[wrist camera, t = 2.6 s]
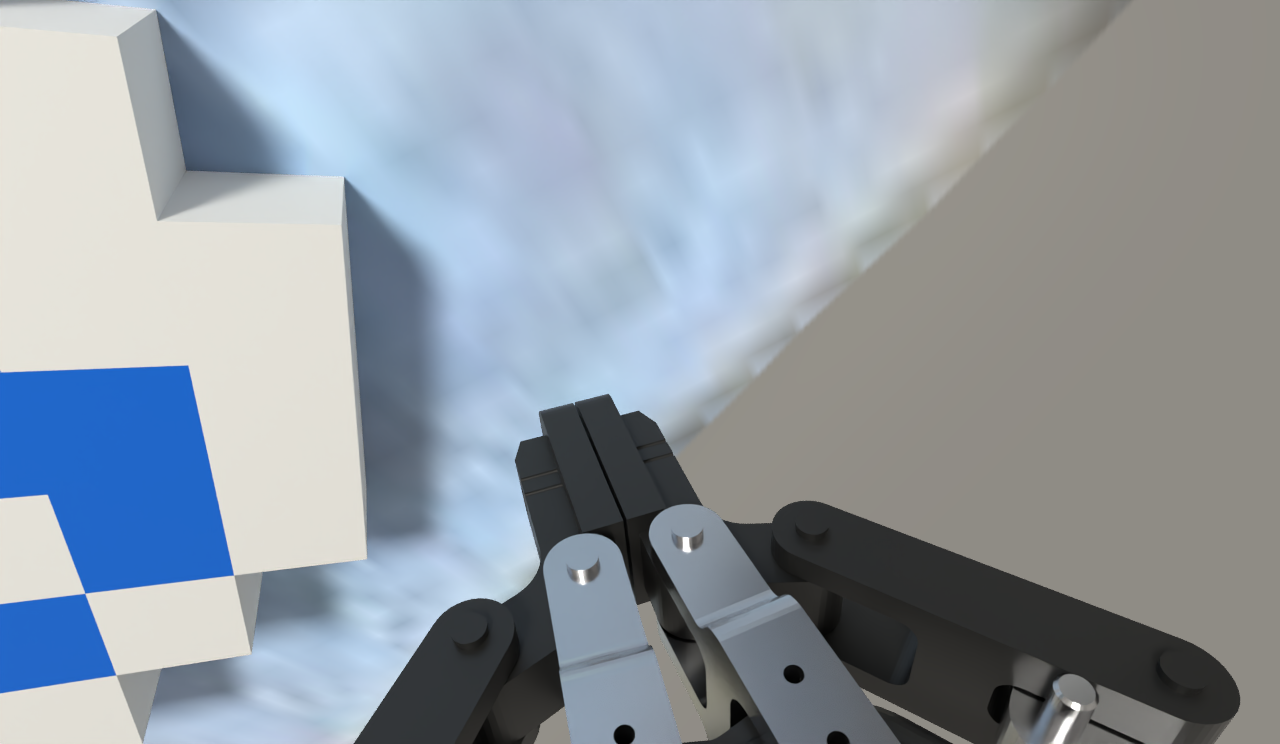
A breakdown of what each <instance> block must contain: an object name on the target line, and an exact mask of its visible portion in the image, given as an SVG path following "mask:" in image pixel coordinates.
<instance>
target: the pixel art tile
mask: <svg viewBox="0 0 1280 744" xmlns="http://www.w3.org/2000/svg"><path fill="white" fill-rule="evenodd" d="M364 559H367V490H366V474H365V460H364V446H363V433H362V419H361V405H360V391H359V377H358V364H357V350H356V336H355V322H354V309H353V295H352V281H351V267H350V254H349V240H348V226H347V212H346V199H345V185H344V177H339V176H313V175H288V174H262V173H237V172H211V171H186V167H185V161H184V156H183V151H182V145H181V140H180V135H179V129H178V124H177V119H176V114H175V108H174V103H173V98H172V92H171V87H170V82H169V76H168V71H167V66H166V60H165V55H164V50H163V45H162V39H161V34H160V29H159V23H158V18H157V13H156V9H146V8H136V7H126V6H117V5H107V4H97V3H87V2H77V1H67V0H0V744H143V741H144V736H145V732H146V728H147V724H148V720H149V716H150V712H151V708H152V704H153V700H154V696H155V692H156V688H157V684H158V680H159V676H160V672H161V668H167V667H174V666H180V665H187V664H193V663H199V662H206V661H212V660H219V659H225V658H232V657H238V656H244V655H251V654H252V647H253V639H254V632H255V625H256V618H257V611H258V603H259V596H260V589H261V582H262V572H266V571H274V570H283V569H291V568H299V567H307V566H315V565H323V564H331V563H340V562H348V561H356V560H364Z"/></svg>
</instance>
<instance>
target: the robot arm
mask: <svg viewBox="0 0 1280 744" xmlns="http://www.w3.org/2000/svg"><path fill="white" fill-rule="evenodd" d="M539 417H540V423H541V428H542V433H543V436H541V437H537V438H533V439H529V440H525V441H521V442H520V445H519V449H518V452H517V455H516V459H515V463H516V467H517V472H518V476H519V480H520V485H521V489H522V493H523V498H524V502H525V507H526V511H527V515H528V518H529V522H530V526H531V529H532V533H533V537H534V540H535V544H536V547H537V551H538V555H539V558H540V566H539V569H538V571H537V574H536V575H535V577H534V579H533V580H532V581H531V582H530V584H529V585H528V586H527V587H526V588H524V589H523V590H522V591H521V592H519V593H518V594H517V595H515V596H514V597H512V598H510V599H509V600H507V601H506V602H504V603H503V604H501V603H499V602H497V601H494V600H490V599H481V598H478V599H471V600H467V601H464V602H461V603H459V604H456V605H455V606H453V607H451V608H450V609H448V610H447V611H446V612H444V613H443V614H442V615H441V616H440V617H439V618H438V619H437V621H436V622H435V623H434V625H433V626H432V628H431V629H430V631H429V632H428V634H427V635H426V637H425V638H424V640H423V641H422V643H421V644H420V646H419V647H418V649H417V650H416V652H415V653H414V655H413V656H412V658H411V659H410V661H409V662H408V664H407V665H406V667H405V668H404V669H403V671H402V672H401V674H400V675H399V677H398V678H397V680H396V681H395V683H394V684H393V686H392V687H391V689H390V690H389V692H388V693H387V695H386V696H385V698H384V699H383V701H382V702H381V704H380V705H379V707H378V708H377V710H376V711H375V713H374V714H373V716H372V717H371V719H370V720H369V722H368V723H367V725H366V726H365V728H364V729H363V731H362V732H361V734H360V735H359V737H358V738H357V740H356V741H355V743H354V744H534V742H535V740H536V738H537V735H538V732H539V728H540V724H541V723H542V722H544V721H545V720H547V719H548V718H549V717H550V716H552V715H553V714H555V713H556V712H557V711H559V710H560V709H561V708H563V707H564V706H565V709H566V715H567V721H568V727H569V732H570V739H571V744H952V743H950V742H948V741H947V740H945V739H943V738H941V737H939V736H937V735H936V734H934V733H932V732H930V731H928V730H926V729H925V728H923V727H921V726H919V725H917V724H915V723H913V722H912V721H910V720H908V719H906V718H904V717H902V716H900V715H898V714H896V713H894V712H891V711H889V710H886V709H884V708H881V707H878V706H874V705H872V704H871V702H870V701H869V699H868V698H867V697H866V695H865V694H864V692H863V691H862V690H861V688H863V689H865V690H867V691H869V692H871V693H873V694H875V695H877V696H879V697H881V698H883V699H885V700H887V701H889V702H891V703H893V704H895V705H897V706H899V707H901V708H903V709H905V710H908V711H909V712H911V713H913V714H915V715H918V716H919V717H921V718H923V719H925V720H927V721H929V722H931V723H933V724H935V725H937V726H939V727H941V728H944V729H945V730H947V731H950V732H952V733H954V734H956V735H958V736H960V737H962V738H964V739H966V740H968V741H970V742H972V743H974V744H1214V743H1215V741H1216V740H1217V739H1218V737H1219V736H1220V735H1221V733H1222V732H1223V731H1224V729H1225V728H1226V727H1227V725H1228V724H1229V722H1230V721H1231V719H1232V718H1233V717H1234V716H1235V714H1236V713H1237V711H1238V709H1239V705H1240V695H1239V690H1238V688H1237V685H1236V683H1235V681H1234V680H1233V678H1232V676H1231V675H1230V674H1229V672H1228V671H1227V670H1226V669H1225V668H1224V666H1223V665H1221V664H1220V662H1219V661H1217V660H1216V659H1215V658H1214V657H1212V656H1211V655H1210V654H1209V653H1207V652H1206V651H1204V650H1203V649H1201V648H1199V647H1197V646H1196V645H1194V644H1192V643H1190V642H1187V641H1185V640H1183V639H1180V638H1178V637H1175V636H1172V635H1169V634H1167V633H1164V632H1162V631H1159V630H1156V629H1154V628H1151V627H1148V626H1146V625H1143V624H1141V623H1138V622H1135V621H1133V620H1130V619H1127V618H1125V617H1122V616H1120V615H1117V614H1114V613H1112V612H1109V611H1106V610H1104V609H1101V608H1098V607H1096V606H1093V605H1090V604H1088V603H1085V602H1083V601H1080V600H1077V599H1074V598H1072V597H1069V596H1067V595H1064V594H1062V593H1059V592H1056V591H1054V590H1051V589H1048V588H1046V587H1043V586H1040V585H1038V584H1035V583H1033V582H1030V581H1027V580H1025V579H1022V578H1019V577H1017V576H1014V575H1011V574H1009V573H1006V572H1003V571H1001V570H998V569H995V568H993V567H990V566H987V565H985V564H982V563H980V562H977V561H975V560H972V559H969V558H966V557H964V556H961V555H959V554H956V553H954V552H951V551H948V550H946V549H943V548H940V547H937V546H935V545H932V544H930V543H927V542H924V541H921V540H919V539H917V538H914V537H911V536H908V535H906V534H903V533H901V532H898V531H895V530H893V529H890V528H887V527H885V526H882V525H880V524H877V523H874V522H872V521H869V520H867V519H864V518H861V517H859V516H856V515H853V514H850V513H848V512H845V511H843V510H840V509H838V508H835V507H832V506H830V505H827V504H824V503H821V502H815V501H799V502H794V503H791V504H788V505H787V506H785V507H783V508H782V509H780V510H779V511H778V512H777V514H776V515H775V517H774V519H773V522H772V523H764V524H763V523H762V524H739V523H732V522H728V521H725V520H722V519H721V518H720V517H719V516H718V515H717V514H716V513H715V512H714V511H712V510H710V509H708V508H706V507H703V505H702V504H701V502H700V501H699V499H698V497H697V495H696V493H695V492H694V490H693V488H692V486H691V484H690V483H689V481H688V479H687V477H686V475H685V474H684V472H683V470H682V469H681V467H680V465H679V463H678V461H677V459H676V458H675V456H673V452H672V450H671V449H670V447H669V445H668V443H667V442H666V441H665V438H664V436H663V434H662V433H661V431H660V429H659V427H658V425H657V424H656V422H654V421H653V420H651V419H650V418H648V417H647V416H645V415H644V414H642V413H641V412H640V411H636V412H632V413H628V414H624V415H621V416H620V414H619V412H618V410H617V408H616V406H615V404H614V402H613V400H612V398H611V396H610V395H609V394H606V395H602V396H598V397H594V398H590V399H586V400H582V401H578V402H575V406H574V404H573V403H571V404H567V405H563V406H559V407H555V408H551V409H547V410H543V411H539ZM635 601H636V602H635ZM648 601H651V603H652V606H653V608H654V611H655V613H656V616H657V625H658V633H659V636H660V639H661V641H662V643H663V645H664V647H665V649H666V651H667V653H668V654H669V657H670V659H671V661H672V663H673V665H674V667H675V669H676V670H677V673H678V675H679V677H680V679H681V681H682V683H683V685H684V686H685V688H686V690H687V692H688V694H689V696H690V698H691V700H692V702H693V704H694V706H695V708H696V710H697V712H698V714H699V716H700V718H701V720H702V723H703V725H704V728H705V731H706V734H707V738H708V741H698V742H687V743H682V742H681V739H680V736H679V732H678V729H677V726H676V722H675V719H674V716H673V712H672V709H671V706H670V702H669V699H668V695H667V692H666V689H665V685H664V682H663V679H662V676H661V672H660V668H659V665H658V662H657V659H656V656H655V653H654V650H653V648H652V646H651V645H650V646H649V645H648V642H647V639H646V636H645V633H644V629H643V626H642V622H641V619H640V616H639V612H638V608H637V605H639V604H642V603H645V602H648ZM636 604H637V605H636ZM860 687H861V688H860Z"/></svg>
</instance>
